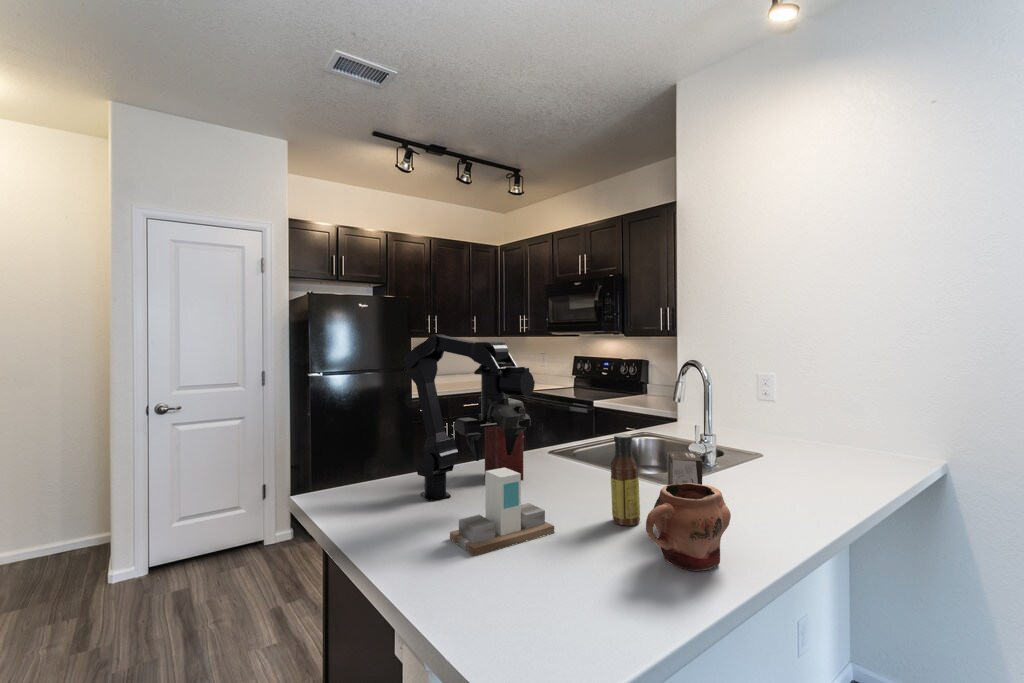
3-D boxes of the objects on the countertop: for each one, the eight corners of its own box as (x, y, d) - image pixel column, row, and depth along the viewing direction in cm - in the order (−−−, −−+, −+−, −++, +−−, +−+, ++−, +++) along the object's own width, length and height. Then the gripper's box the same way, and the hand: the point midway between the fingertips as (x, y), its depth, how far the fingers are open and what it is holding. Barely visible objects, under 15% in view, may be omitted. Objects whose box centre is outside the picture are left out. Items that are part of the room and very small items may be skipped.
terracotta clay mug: (681, 593, 82) (681, 509, 82) (624, 565, 92) (624, 490, 92) (746, 561, 93) (746, 487, 93) (690, 539, 103) (690, 473, 103)
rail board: (449, 538, 104) (449, 517, 104) (526, 518, 115) (526, 499, 115) (474, 556, 96) (473, 533, 96) (554, 532, 107) (554, 512, 107)
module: (485, 526, 106) (485, 471, 106) (504, 521, 109) (504, 467, 109) (501, 536, 101) (501, 477, 101) (521, 530, 104) (521, 473, 104)
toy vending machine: (507, 470, 157) (507, 382, 156) (523, 480, 147) (523, 385, 146) (481, 474, 153) (481, 383, 153) (496, 484, 143) (496, 386, 143)
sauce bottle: (641, 519, 115) (641, 433, 115) (638, 528, 109) (638, 438, 109) (612, 515, 117) (612, 431, 117) (608, 525, 111) (608, 436, 111)
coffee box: (703, 537, 105) (703, 460, 105) (671, 534, 106) (671, 459, 106) (696, 521, 114) (696, 451, 114) (666, 519, 115) (666, 449, 115)
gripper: (476, 399, 108) (477, 471, 108) (544, 394, 119) (544, 459, 119) (452, 395, 117) (452, 461, 117) (517, 390, 128) (517, 450, 128)
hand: (493, 458), depth 120 cm, fingers open, 9 cm apart
